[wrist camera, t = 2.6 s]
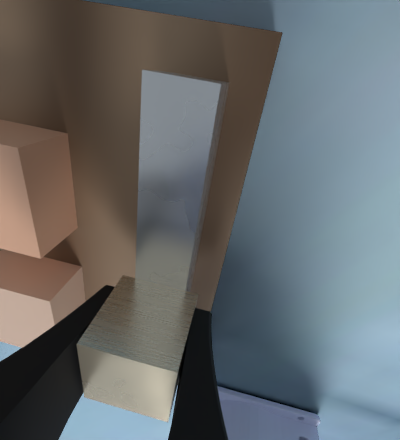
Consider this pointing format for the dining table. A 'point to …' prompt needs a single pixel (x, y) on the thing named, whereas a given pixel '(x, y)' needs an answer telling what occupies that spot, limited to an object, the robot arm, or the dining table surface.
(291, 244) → the dining table surface
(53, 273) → the tile
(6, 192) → the tile
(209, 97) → the grey bar with block
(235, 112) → the board
